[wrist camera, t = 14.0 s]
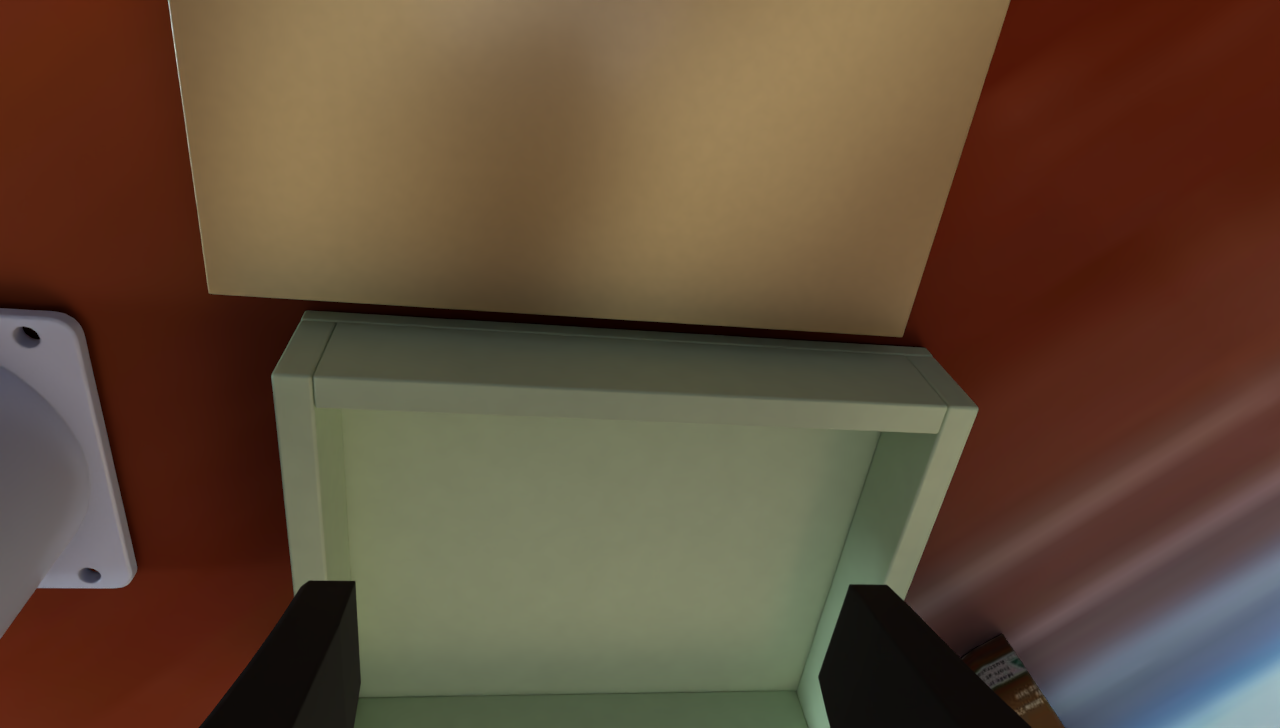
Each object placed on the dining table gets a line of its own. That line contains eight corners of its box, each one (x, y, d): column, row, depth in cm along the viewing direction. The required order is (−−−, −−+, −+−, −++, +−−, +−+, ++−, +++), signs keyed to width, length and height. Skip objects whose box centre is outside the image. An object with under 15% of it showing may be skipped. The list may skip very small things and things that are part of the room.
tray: (335, 701, 25) (313, 792, 23) (304, 309, 19) (269, 373, 16) (808, 692, 28) (837, 773, 25) (926, 347, 21) (981, 407, 19)
